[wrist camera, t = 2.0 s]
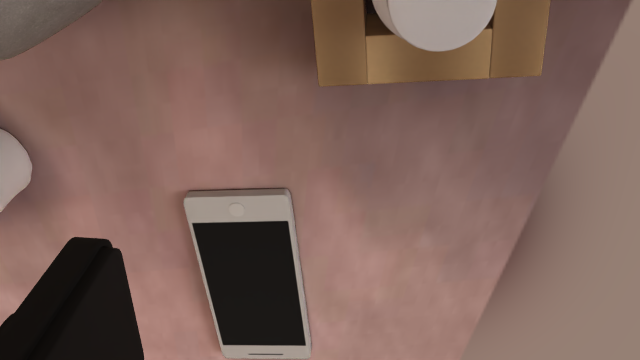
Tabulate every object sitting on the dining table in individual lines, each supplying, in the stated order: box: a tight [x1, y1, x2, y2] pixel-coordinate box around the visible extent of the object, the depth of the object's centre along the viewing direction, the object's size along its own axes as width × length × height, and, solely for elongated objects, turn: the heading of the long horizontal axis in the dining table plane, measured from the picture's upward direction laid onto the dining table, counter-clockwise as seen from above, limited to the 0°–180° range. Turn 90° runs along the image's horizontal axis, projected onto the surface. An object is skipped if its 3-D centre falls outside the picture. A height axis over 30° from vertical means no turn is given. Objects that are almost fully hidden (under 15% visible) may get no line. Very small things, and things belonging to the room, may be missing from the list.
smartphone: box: [184, 189, 312, 359], centre depth 41 cm, size 7×15×1 cm, turn 5°
